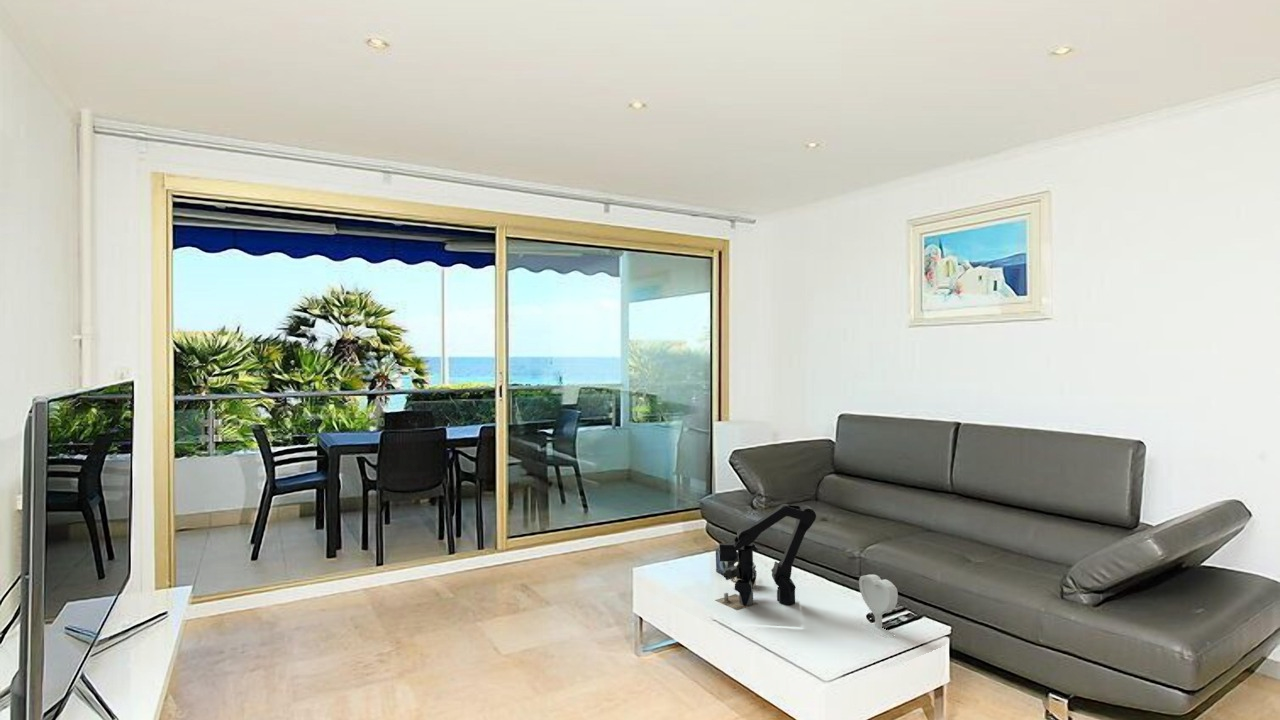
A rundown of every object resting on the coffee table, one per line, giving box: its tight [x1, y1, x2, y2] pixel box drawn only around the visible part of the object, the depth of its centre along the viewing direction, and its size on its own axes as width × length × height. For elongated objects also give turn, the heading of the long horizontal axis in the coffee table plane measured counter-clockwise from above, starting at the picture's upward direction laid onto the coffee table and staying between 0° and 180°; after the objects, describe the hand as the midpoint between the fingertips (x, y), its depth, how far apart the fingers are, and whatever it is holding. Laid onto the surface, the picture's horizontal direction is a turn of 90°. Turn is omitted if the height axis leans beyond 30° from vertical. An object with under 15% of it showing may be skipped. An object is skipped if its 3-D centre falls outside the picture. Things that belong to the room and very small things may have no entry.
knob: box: [738, 589, 754, 605], centre depth 264 cm, size 5×5×5 cm
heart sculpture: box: [858, 574, 899, 638], centre depth 238 cm, size 16×5×18 cm, turn 21°
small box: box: [715, 547, 738, 577], centre depth 300 cm, size 11×6×10 cm, turn 25°
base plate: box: [714, 592, 759, 611], centre depth 265 cm, size 13×11×4 cm
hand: (746, 601), depth 264 cm, fingers open, 9 cm apart
